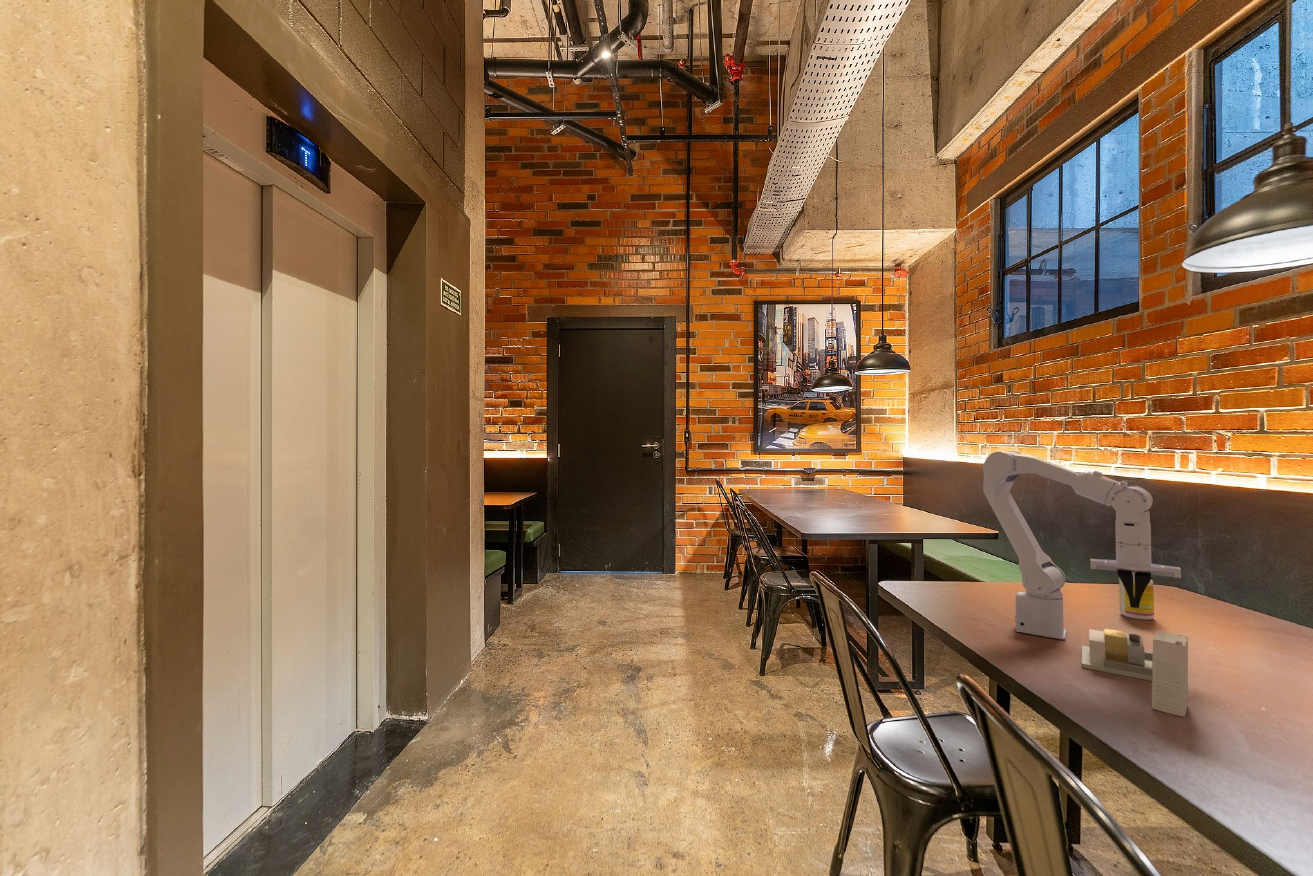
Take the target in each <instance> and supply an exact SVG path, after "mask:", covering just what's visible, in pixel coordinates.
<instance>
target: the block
mask: <svg viewBox="0 0 1313 876" xmlns="http://www.w3.org/2000/svg"><path fill="white" fill-rule="evenodd" d="M1103 631H1104V640H1105V660H1109V661H1115V662H1120V663H1125V664H1128V651H1127V635H1126V634H1127V632H1126V631H1123V630H1122V631H1121V630H1116V629H1109V628H1103Z"/></svg>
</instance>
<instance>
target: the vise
mask: <svg viewBox="0 0 1313 876" xmlns="http://www.w3.org/2000/svg"><path fill="white" fill-rule="evenodd" d="M1088 630H1089V631H1088V632H1089V633H1088V639H1089V640H1088V641H1089V646H1086V645H1081V668H1084V669H1089V670H1093V671H1099V672H1103V673H1109V674H1114V675H1118V676H1125V677H1130V678H1135V679H1141V680H1146V681H1151V682H1152V655H1153V651H1146V650H1144V657H1145V667H1142V666H1136V665H1131V664H1125V663H1120V662H1115V661H1109V660H1105V640H1104V630H1096V629H1091V628H1090V629H1088Z"/></svg>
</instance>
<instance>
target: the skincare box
mask: <svg viewBox="0 0 1313 876" xmlns="http://www.w3.org/2000/svg"><path fill="white" fill-rule="evenodd" d="M1152 653H1153V655H1152V681H1151V708H1152V709H1153V710H1156V711H1159V712H1163V713H1167V714H1169V715H1173V716H1178V717H1183V718H1184V717H1186V713H1187V709H1188V705H1189V704H1188V703H1189V672H1188V671H1189V637H1188V636H1187V635H1183V634H1177V633H1171V632H1167V631H1166V632H1165V631H1159V630H1156V631H1155V633H1154V636H1153V639H1152Z"/></svg>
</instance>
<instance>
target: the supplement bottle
mask: <svg viewBox="0 0 1313 876" xmlns="http://www.w3.org/2000/svg"><path fill="white" fill-rule="evenodd" d="M1141 571H1142V570H1141ZM1132 574H1133V593H1134V594H1135V580H1134V573H1132ZM1118 582H1119V583H1118V584H1119V585H1118V586H1119V589H1118V590H1119V612H1120V614H1121V615H1123V616H1124V617H1127V618H1130V619H1136V620H1144V621H1148V620H1150V621H1151V620H1153V619H1154V618H1155V604H1154V603H1155V602H1154V601H1155V600H1154V597H1155V596H1154V581H1153V579H1151V581H1150V582H1149V584H1148V585H1147V587H1146V589H1145V590H1144V592H1143V595H1142V597H1141V600H1140V605H1139V608H1133V607H1130V601H1129V597H1128V594H1127V592H1126V589H1125V587H1124V585H1123V583H1122V581H1121V580H1120V578H1119V577H1118Z"/></svg>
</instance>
